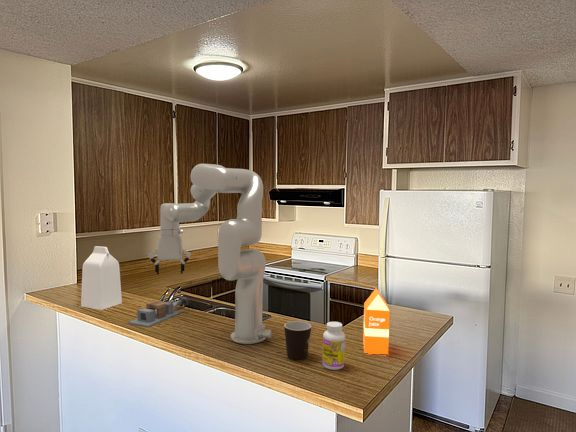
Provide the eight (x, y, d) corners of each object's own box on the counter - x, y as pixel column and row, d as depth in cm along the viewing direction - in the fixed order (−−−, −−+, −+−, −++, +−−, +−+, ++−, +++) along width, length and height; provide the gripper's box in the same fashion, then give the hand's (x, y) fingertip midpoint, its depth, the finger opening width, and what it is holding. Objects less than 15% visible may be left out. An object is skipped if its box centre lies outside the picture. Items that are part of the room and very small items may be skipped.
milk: (80, 306, 179) (79, 247, 177) (102, 299, 190) (101, 244, 188) (101, 310, 174) (100, 249, 173) (121, 303, 185) (121, 246, 183)
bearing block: (181, 312, 172) (181, 301, 172) (148, 327, 154) (148, 315, 154) (162, 309, 176) (162, 298, 176) (127, 323, 158) (127, 311, 157)
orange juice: (363, 354, 132) (365, 293, 131) (362, 343, 141) (364, 286, 140) (388, 355, 131) (390, 294, 130) (385, 345, 140) (387, 287, 139)
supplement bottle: (318, 366, 122) (319, 324, 121) (328, 359, 128) (329, 318, 127) (338, 372, 119) (339, 329, 118) (348, 364, 124) (349, 323, 123)
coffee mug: (300, 364, 124) (301, 332, 123) (278, 357, 129) (278, 326, 128) (321, 352, 133) (321, 322, 132) (299, 346, 138) (300, 317, 137)
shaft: (188, 304, 181) (188, 297, 181) (165, 313, 167) (165, 306, 167) (181, 302, 183) (181, 296, 183) (158, 312, 169) (157, 305, 169)
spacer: (165, 316, 165) (165, 303, 165) (159, 319, 162) (158, 305, 161) (153, 314, 168) (153, 301, 168) (146, 316, 164) (146, 303, 164)
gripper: (191, 231, 177) (190, 270, 178) (148, 232, 172) (149, 272, 173) (191, 233, 169) (191, 274, 171) (147, 234, 165) (147, 276, 166)
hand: (170, 273), depth 172 cm, fingers open, 9 cm apart
